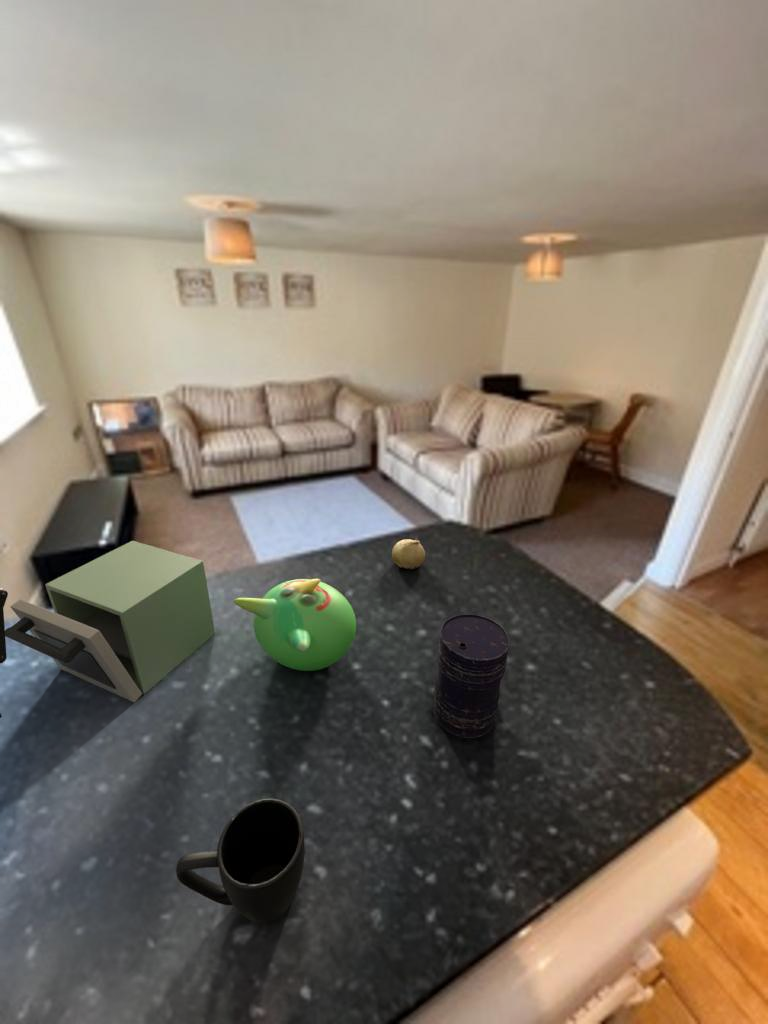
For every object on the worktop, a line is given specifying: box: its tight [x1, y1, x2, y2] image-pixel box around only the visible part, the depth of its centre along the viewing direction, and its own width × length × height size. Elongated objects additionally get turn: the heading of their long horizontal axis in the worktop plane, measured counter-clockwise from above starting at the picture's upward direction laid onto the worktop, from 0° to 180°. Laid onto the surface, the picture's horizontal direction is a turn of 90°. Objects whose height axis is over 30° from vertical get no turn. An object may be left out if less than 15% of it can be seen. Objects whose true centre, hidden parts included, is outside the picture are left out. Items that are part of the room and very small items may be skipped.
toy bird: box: [233, 578, 357, 672], centre depth 77 cm, size 18×17×15 cm
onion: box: [391, 536, 426, 570], centre depth 107 cm, size 8×8×7 cm
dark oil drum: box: [432, 613, 510, 739], centre depth 67 cm, size 10×10×15 cm
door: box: [5, 598, 143, 703], centre depth 67 cm, size 5×17×16 cm, turn 67°
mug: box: [175, 798, 306, 926], centre depth 45 cm, size 8×12×10 cm
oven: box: [44, 540, 216, 695], centre depth 77 cm, size 16×17×16 cm
